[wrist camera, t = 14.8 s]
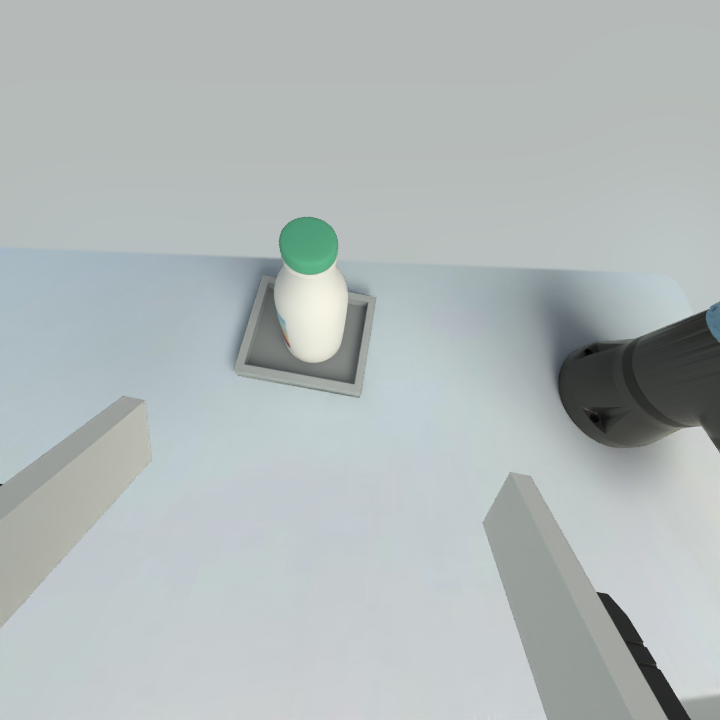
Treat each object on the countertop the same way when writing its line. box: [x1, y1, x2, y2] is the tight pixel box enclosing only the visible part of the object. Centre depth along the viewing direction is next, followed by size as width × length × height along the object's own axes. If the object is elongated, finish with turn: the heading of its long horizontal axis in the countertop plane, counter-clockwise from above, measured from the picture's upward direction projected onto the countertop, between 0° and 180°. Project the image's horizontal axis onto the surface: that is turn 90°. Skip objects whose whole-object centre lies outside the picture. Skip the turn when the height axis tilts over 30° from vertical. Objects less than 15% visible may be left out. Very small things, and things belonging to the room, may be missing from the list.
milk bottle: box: [274, 217, 348, 363], centre depth 34 cm, size 8×8×20 cm
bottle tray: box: [234, 275, 376, 398], centre depth 43 cm, size 16×14×2 cm
